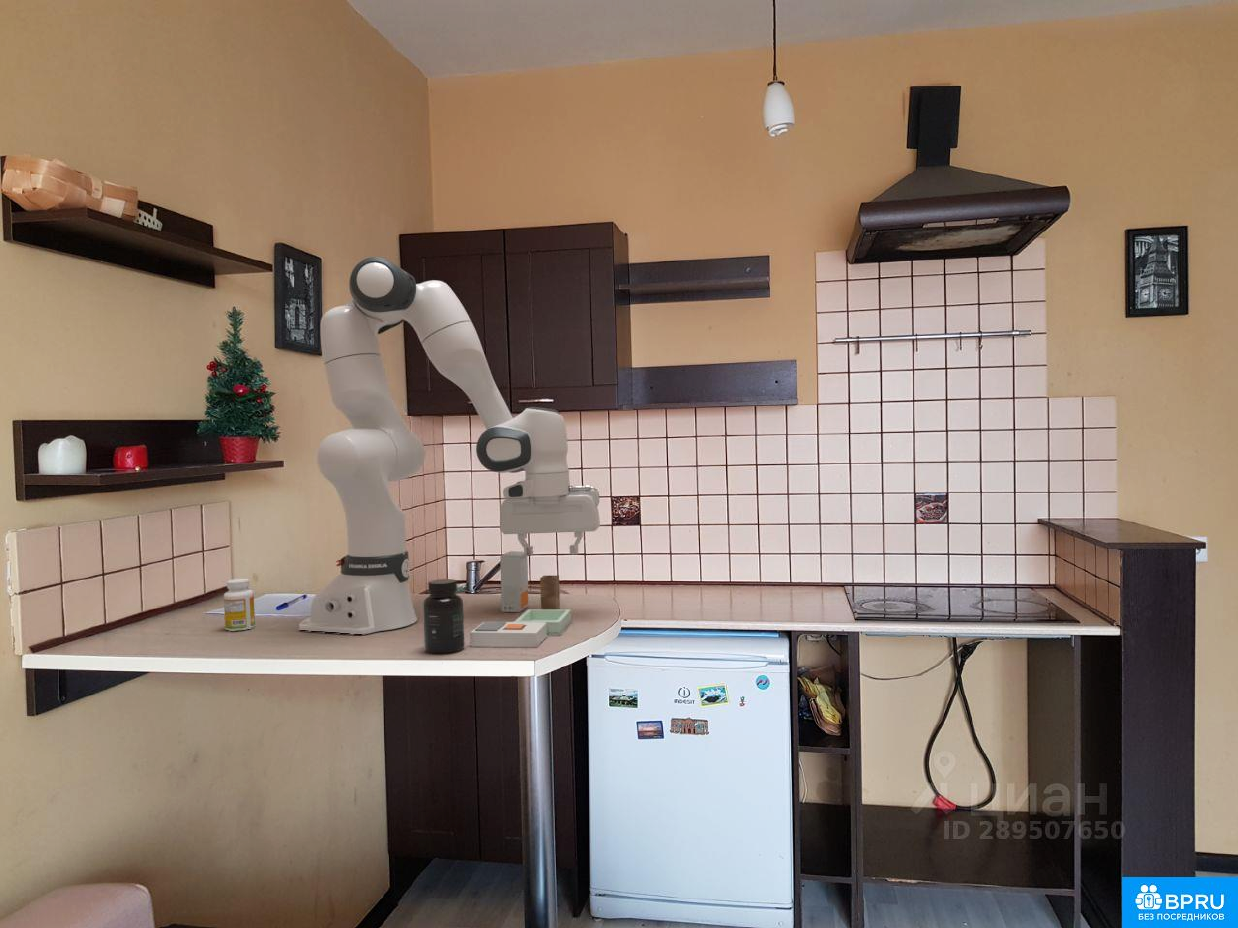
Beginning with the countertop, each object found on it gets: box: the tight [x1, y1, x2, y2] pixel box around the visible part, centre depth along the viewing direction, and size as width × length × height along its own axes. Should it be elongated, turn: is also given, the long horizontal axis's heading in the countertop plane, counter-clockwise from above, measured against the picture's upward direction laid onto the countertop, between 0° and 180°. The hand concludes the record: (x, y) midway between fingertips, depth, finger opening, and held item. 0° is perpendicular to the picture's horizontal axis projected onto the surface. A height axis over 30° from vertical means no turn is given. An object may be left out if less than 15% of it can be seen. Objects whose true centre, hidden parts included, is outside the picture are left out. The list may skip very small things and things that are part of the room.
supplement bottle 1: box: [223, 578, 256, 632], centre depth 163 cm, size 5×5×10 cm
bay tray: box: [513, 608, 572, 637], centre depth 157 cm, size 9×11×2 cm
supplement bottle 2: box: [422, 578, 465, 655], centre depth 143 cm, size 7×7×12 cm
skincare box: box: [500, 550, 529, 613], centre depth 174 cm, size 6×4×12 cm
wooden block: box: [539, 575, 561, 609], centre depth 167 cm, size 3×3×8 cm
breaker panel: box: [469, 621, 548, 648], centre depth 148 cm, size 12×8×3 cm, turn 82°
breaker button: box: [504, 624, 525, 630], centre depth 148 cm, size 3×3×2 cm
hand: (551, 554), depth 167 cm, fingers open, 8 cm apart
